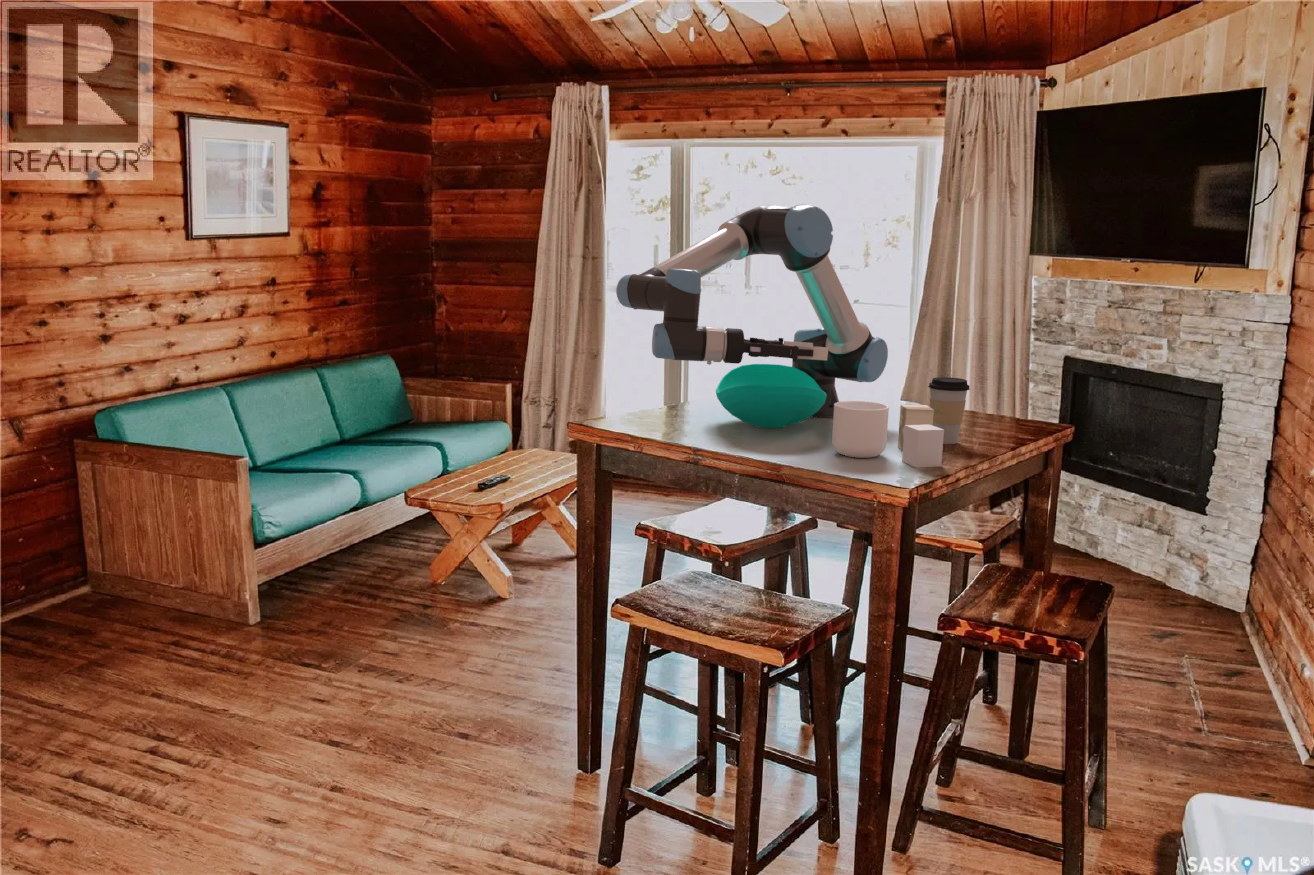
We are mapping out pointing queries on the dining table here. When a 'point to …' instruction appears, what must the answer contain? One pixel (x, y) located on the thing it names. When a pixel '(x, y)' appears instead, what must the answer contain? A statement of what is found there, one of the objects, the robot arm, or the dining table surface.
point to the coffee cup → (948, 405)
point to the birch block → (913, 418)
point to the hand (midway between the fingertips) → (819, 351)
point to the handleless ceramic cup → (860, 428)
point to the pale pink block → (923, 445)
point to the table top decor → (770, 395)
